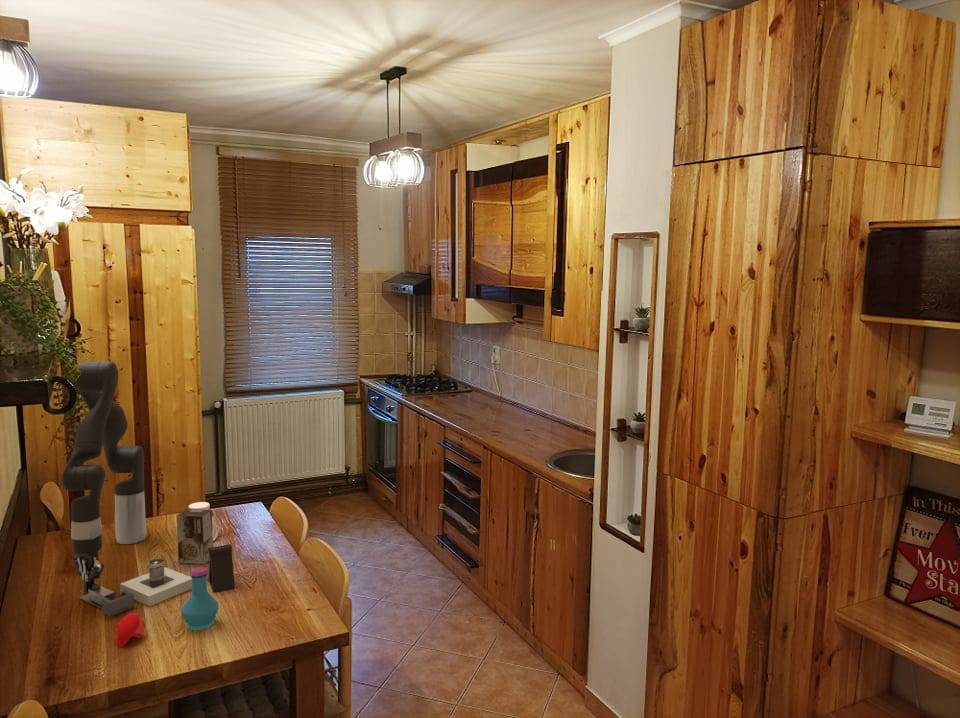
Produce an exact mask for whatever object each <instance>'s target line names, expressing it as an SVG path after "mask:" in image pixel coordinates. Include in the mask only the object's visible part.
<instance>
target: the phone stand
mask: <svg viewBox="0 0 960 718" xmlns="http://www.w3.org/2000/svg"><path fill="white" fill-rule="evenodd" d="M232 548H233V547H232V545H231V544H224V545H218V546H213V547H212V548H209V561H208V562H209V563H208V578H207V581H208V583H209V585H210V588H211V590H212V593H219V592H224V591H228V590H233V589H236V588H235V587H236V586H235V576H234V575H235V573H234V561H233V549H232Z"/></svg>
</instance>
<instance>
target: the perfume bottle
mask: <svg viewBox="0 0 960 718" xmlns="http://www.w3.org/2000/svg"><path fill="white" fill-rule="evenodd" d="M208 574H209V569H207V568H206V567H196V568H194V569H192V570H191V571H190V572H189V575H190V577H191V578H192V589H191V590H192V592H191V594H190V596H189V597H188V599H187V600H186V601H185V603H184V604H183V606H182V607H181V616H182V617H183V619H184V622H185V623H186V624H187V625H186V627H187V628H188V629H189V628H190V629H189V630H191V629H192V631H201V630H205V629H208V628H210V627H212V626H213V625H214V623H215V619H216V615H217V613H218V611H219V607H220V606H219V601H217V600H216V599H215V597H213V596H212V595H211V594H210V593H209V591H208V585H207V584H208V583H207V582H208V578H207V576H208Z"/></svg>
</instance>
